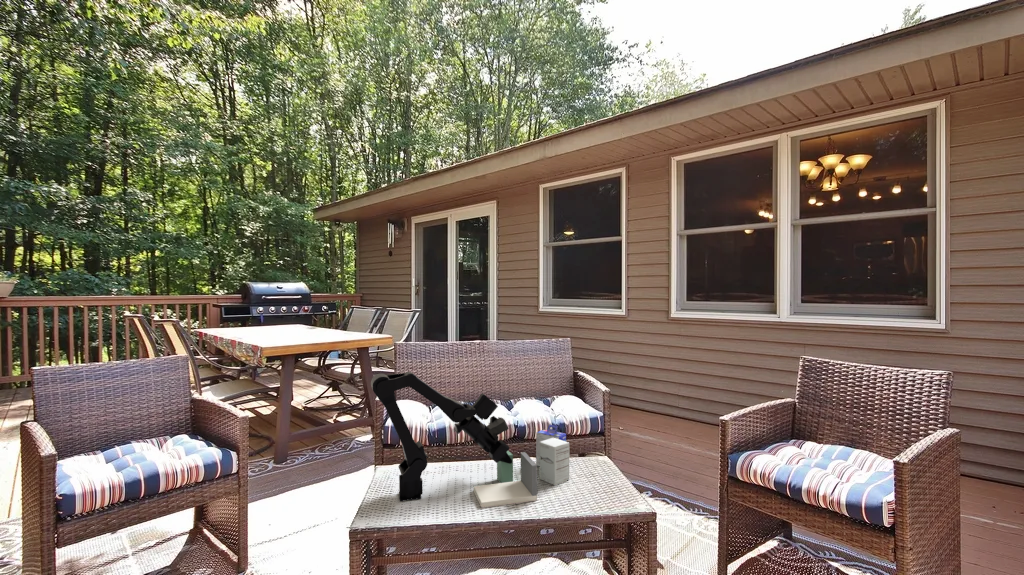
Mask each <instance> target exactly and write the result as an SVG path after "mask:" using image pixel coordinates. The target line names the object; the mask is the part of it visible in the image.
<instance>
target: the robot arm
mask: <svg viewBox="0 0 1024 575" xmlns="http://www.w3.org/2000/svg"><path fill="white" fill-rule="evenodd" d="M370 386H371V390H372V391H373V394H375V396H376V397H377V399H378V400H379V401H380V403H381V404H382V406H383V407H384V408H385V410H386V412H387V414H388V417H389V419H390V421H391V423H392V426H393V427H394V430H395V432H396V434H397V436H398V437H397V438H398V439H399V441H400V443H401V446H402V451H403V455H404V456H403V457H404V459H403V460H402V462H400V463H399V465H398V470H399V472H400V474H399V475H398V482H399V487H398V490H399V491H398V501H399V500H400V502H404V501H403V500H406V501H413V500H421V499H422V495H423V491H424V490H423V478H422V473H423V472H424V471H425V470H426V469H427V466H428V458H429V456H428V454H427V453H426V451H425V449H424V445H423V444H422V442H421V440H418V441H415V440H414V438H413V436H412V433H411V431H410V429H409V427H408V425H407V421H406V420H405V418H404V415H403V414H402V412H401V409H400V407H399V404H398V402H397V399H396V394H395V392H396V391H399V390H401V389H405V388H408V387H409V388H411V389H412V390H414V391H415V392H417V393H418V394H419V395H421V396H422V397H423V398H425V399H426V400H428V401H429V402H431V403H433V404H434V405H435V406H437V407H438V408H439V409H440V410H441V411H442V412H443V413H444V415H445V416H446V417H448V419H450V420H451V421H452V422H453V423H454V432H456V434H457V435H459V434H460V433H461V432H462V431H463V432H464V433H465V435H467V436H468V437H469V438H471V439H472V441H474V442H475V443H476V444H477V445H478V446H479V447H480V448H481V449H483V451H484V452H486V453H488V456H489V458H491V459H492V461H494V462H495V463H496V464H497V462H499V461H501V462H505V463H509V464H511V463H512V460H511V458H510V457H509V455H508V454H507V451H509V450H510V445H508V443H506V442H504V441H503V440H502V439H501V440H499V435H500V434H502V433H504V432H507V431H508V430H509V429H510V427H509V426H508V423H507V421H506V419H505V418H503V417H500V416H498V417H496V416H495V415H492V414H493V413H494V411H495V410H496V409H497V408H499V407H498V406H499V405H498V404H497V403H496V402H495V401H493V400H492V399H490V398H489V397H488V396H486V395H485V393H481V394H480V395H479V397H478V398H477V399H476V400H474V402H473V403H472V405H471V404H470V403H461V402H459V401H457V400H456V399H454V398H451V397H449V396H446V395H444V394H442V393H441V392H439V391H438V390H437V389H435V388H434V387H432V386H431V385H429V384H428V383H426V382H425V381H424V380H422V379H421V378H420V377H418V376H417V375H416V374H415V373H414V372H411V371H406V372H402V373H391V374H387V375H386V374H385V373H377V374H375V375H374V376H372V378H371V381H370ZM491 415H492V416H491ZM476 416H477V417H478V418H479V419H480V420H481V421H483V420H484V421H486V420H488V419H489V422H488V425H487V424H485V423H482V422H481V421H480V420H479V419H478V418H477V417H476ZM490 416H491V417H490Z"/></svg>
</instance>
